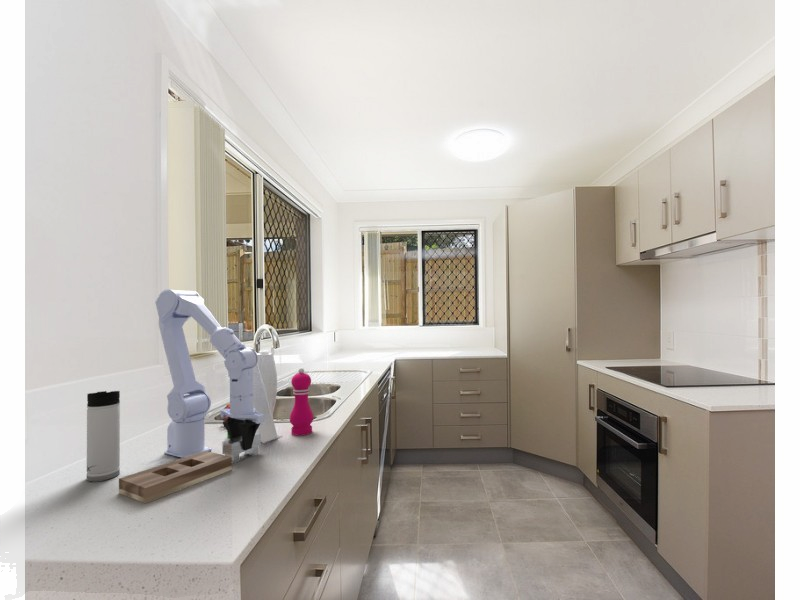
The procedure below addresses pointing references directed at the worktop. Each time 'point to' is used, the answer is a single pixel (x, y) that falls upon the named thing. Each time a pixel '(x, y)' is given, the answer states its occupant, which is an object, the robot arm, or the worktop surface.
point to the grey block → (239, 447)
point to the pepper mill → (301, 405)
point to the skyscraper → (265, 393)
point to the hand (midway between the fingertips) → (241, 447)
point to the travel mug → (103, 435)
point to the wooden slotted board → (173, 476)
